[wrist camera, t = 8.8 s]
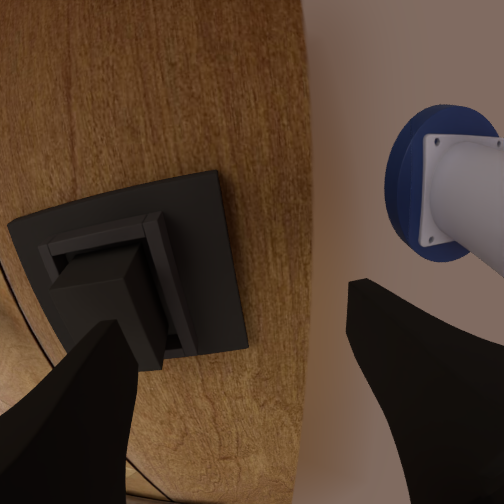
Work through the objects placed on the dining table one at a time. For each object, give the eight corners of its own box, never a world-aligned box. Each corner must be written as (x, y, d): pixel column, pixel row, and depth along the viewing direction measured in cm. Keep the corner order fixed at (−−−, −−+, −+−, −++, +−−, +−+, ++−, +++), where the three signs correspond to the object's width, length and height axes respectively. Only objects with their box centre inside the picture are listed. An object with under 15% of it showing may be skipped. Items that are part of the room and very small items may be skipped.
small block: (142, 241, 16) (123, 278, 13) (169, 325, 19) (162, 370, 16) (75, 254, 16) (47, 290, 13) (108, 332, 19) (93, 374, 15)
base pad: (217, 169, 16) (217, 178, 14) (247, 339, 22) (251, 363, 19) (14, 219, 16) (-7, 234, 13) (77, 356, 21) (68, 378, 19)
